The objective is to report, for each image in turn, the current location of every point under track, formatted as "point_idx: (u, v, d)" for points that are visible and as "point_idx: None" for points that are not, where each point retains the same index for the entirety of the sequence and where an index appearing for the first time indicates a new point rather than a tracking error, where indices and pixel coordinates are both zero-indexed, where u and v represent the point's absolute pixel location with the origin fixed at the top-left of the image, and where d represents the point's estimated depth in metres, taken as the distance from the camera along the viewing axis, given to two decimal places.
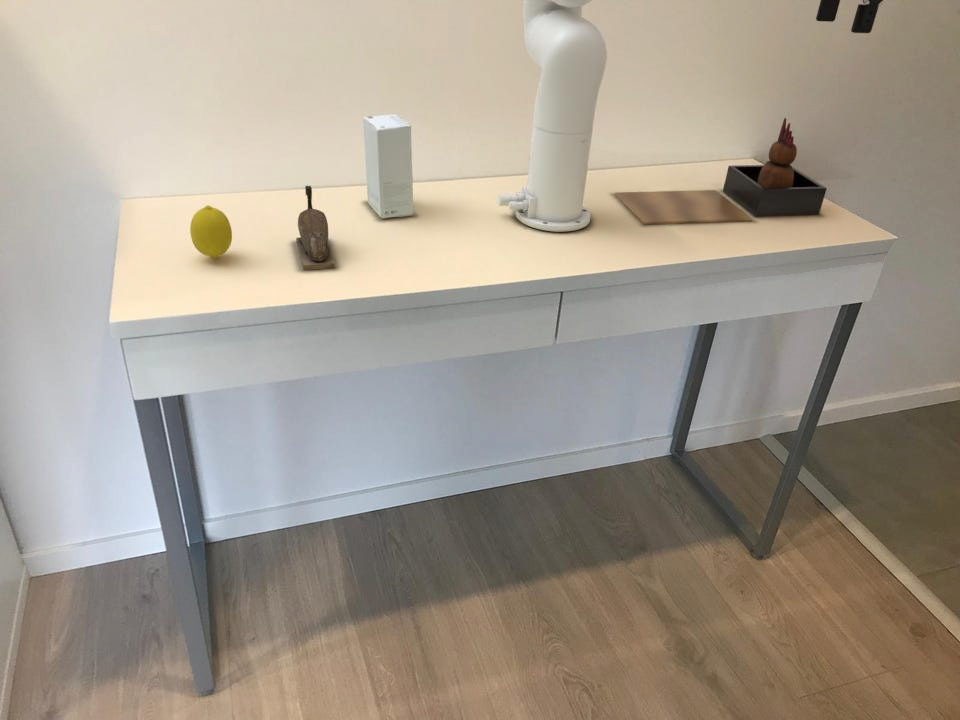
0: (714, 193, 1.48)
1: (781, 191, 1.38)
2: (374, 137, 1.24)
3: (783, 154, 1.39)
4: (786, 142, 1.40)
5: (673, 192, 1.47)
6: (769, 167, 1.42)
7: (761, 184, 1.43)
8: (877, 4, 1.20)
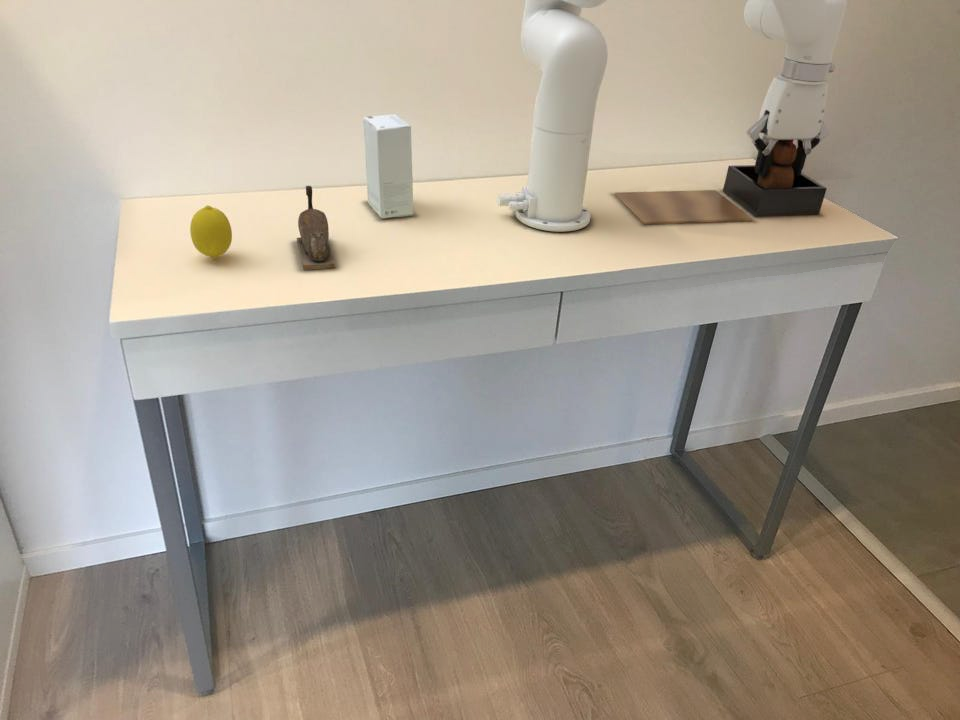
0: (714, 193, 1.48)
1: (781, 191, 1.38)
2: (374, 137, 1.24)
3: (783, 154, 1.39)
4: (786, 142, 1.40)
5: (673, 192, 1.47)
6: (769, 167, 1.42)
7: (761, 184, 1.43)
8: (762, 152, 1.40)
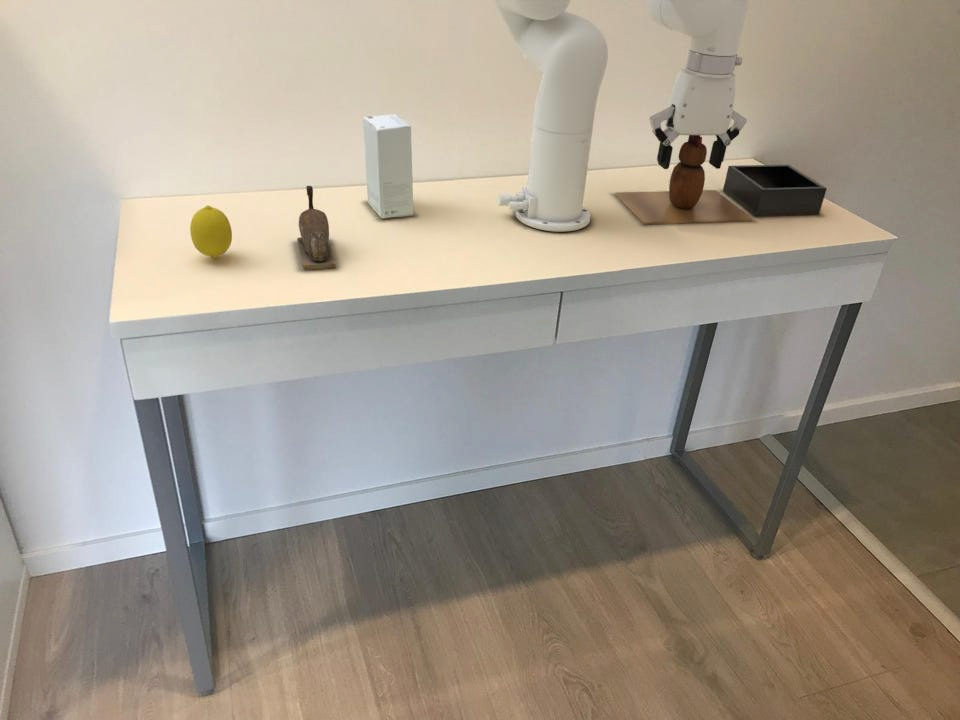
0: (714, 193, 1.48)
1: (781, 191, 1.38)
2: (374, 137, 1.24)
3: (692, 155, 1.35)
4: (695, 142, 1.35)
5: None
6: (679, 169, 1.37)
7: (671, 186, 1.39)
8: (662, 143, 1.34)
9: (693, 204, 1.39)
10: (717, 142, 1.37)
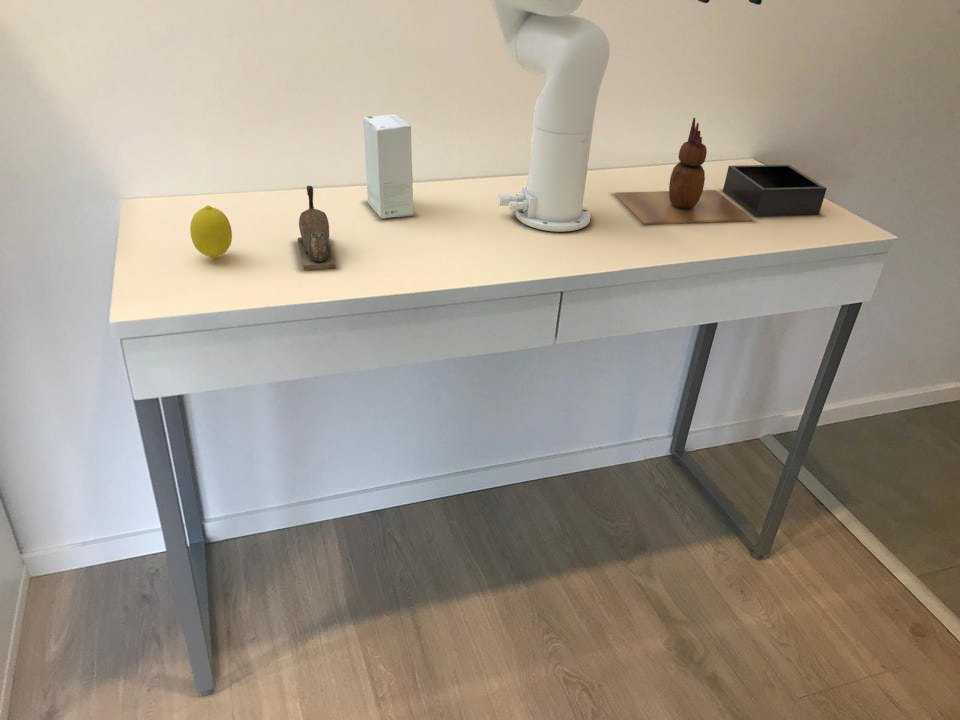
0: (714, 193, 1.48)
1: (781, 191, 1.38)
2: (374, 137, 1.24)
3: (692, 155, 1.35)
4: (695, 142, 1.35)
5: None
6: (679, 169, 1.37)
7: (671, 186, 1.39)
8: None
9: (693, 204, 1.39)
10: None
